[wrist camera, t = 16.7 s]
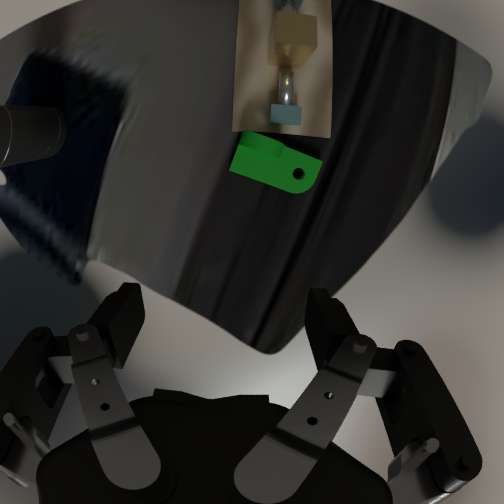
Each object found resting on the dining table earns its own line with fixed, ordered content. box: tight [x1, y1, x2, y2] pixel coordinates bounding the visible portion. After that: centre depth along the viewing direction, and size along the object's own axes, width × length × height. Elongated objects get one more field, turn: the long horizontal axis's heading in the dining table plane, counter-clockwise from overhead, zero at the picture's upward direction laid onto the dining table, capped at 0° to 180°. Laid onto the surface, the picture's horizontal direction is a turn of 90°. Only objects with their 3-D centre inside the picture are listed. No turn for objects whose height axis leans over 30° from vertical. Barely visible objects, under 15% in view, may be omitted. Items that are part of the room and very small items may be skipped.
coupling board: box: [232, 0, 332, 138], centre depth 31 cm, size 14×25×4 cm, turn 178°
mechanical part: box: [229, 130, 322, 193], centre depth 36 cm, size 12×6×8 cm, turn 70°
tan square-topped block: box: [269, 11, 317, 69], centre depth 27 cm, size 4×4×10 cm
